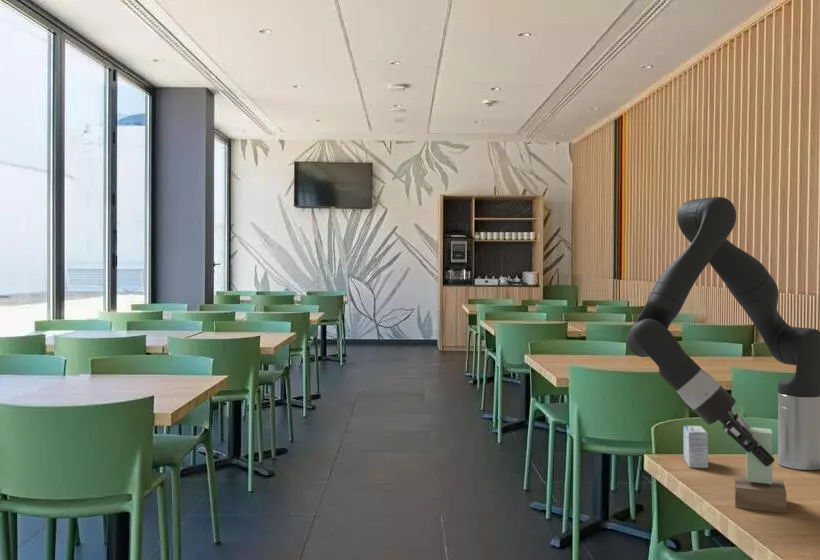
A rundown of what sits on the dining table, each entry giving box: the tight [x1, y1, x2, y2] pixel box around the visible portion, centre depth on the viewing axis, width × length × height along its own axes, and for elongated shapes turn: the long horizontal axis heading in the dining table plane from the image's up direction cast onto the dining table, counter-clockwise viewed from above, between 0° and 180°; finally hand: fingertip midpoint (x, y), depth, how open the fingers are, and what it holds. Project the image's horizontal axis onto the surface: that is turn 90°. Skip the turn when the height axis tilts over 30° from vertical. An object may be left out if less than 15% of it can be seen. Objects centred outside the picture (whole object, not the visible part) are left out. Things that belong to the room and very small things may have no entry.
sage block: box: [745, 426, 773, 484], centre depth 146 cm, size 4×4×10 cm
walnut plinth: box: [734, 475, 787, 514], centre depth 146 cm, size 9×9×4 cm
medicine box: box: [682, 425, 709, 469], centre depth 176 cm, size 8×4×9 cm, turn 168°
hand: (769, 460), depth 145 cm, fingers closed on sage block, 4 cm apart
